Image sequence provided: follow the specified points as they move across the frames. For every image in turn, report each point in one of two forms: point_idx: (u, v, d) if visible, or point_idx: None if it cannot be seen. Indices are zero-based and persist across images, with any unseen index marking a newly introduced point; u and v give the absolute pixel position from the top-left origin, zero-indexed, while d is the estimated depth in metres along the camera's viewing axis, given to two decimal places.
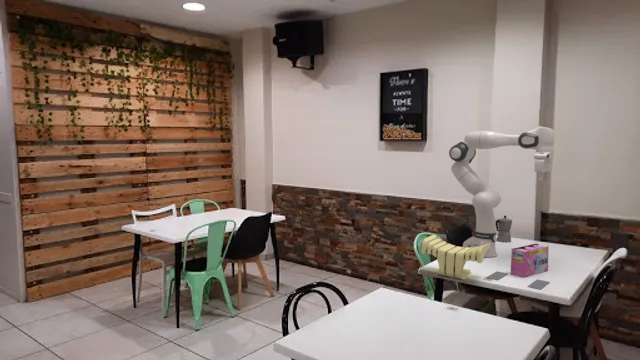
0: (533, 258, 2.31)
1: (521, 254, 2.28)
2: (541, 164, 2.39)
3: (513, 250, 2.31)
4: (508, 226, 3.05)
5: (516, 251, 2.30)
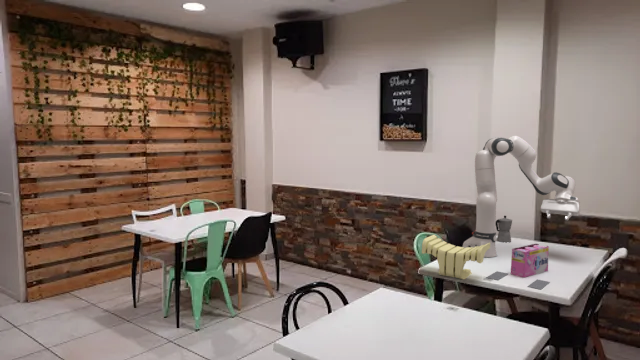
0: (533, 258, 2.30)
1: (521, 254, 2.28)
2: (579, 209, 2.55)
3: (513, 250, 2.31)
4: (508, 226, 3.05)
5: (516, 251, 2.30)
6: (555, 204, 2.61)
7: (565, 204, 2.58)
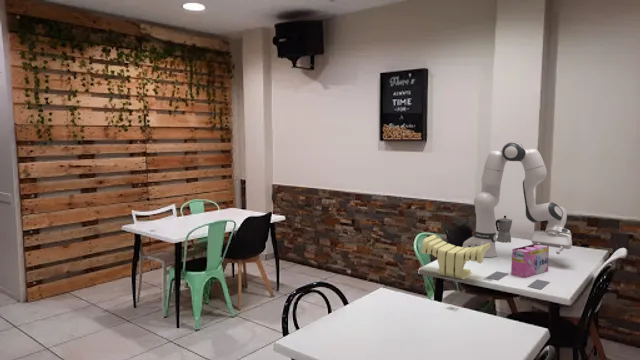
0: (534, 258, 2.30)
1: (522, 254, 2.27)
2: (571, 242, 2.45)
3: (514, 250, 2.31)
4: (508, 226, 3.05)
5: (517, 251, 2.29)
6: (546, 237, 2.51)
7: (556, 236, 2.48)
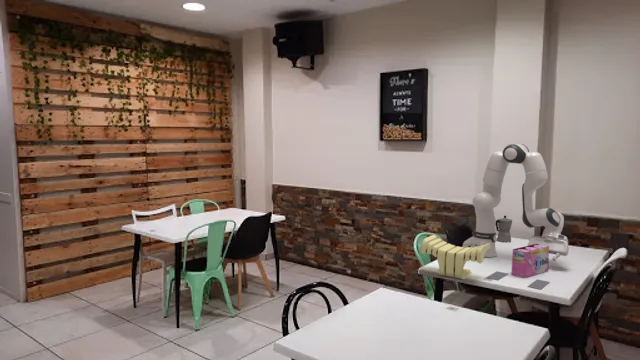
0: (534, 258, 2.30)
1: (522, 255, 2.27)
2: (568, 249, 2.41)
3: (514, 250, 2.30)
4: (508, 226, 3.05)
5: (517, 251, 2.29)
6: (542, 243, 2.47)
7: (553, 243, 2.44)
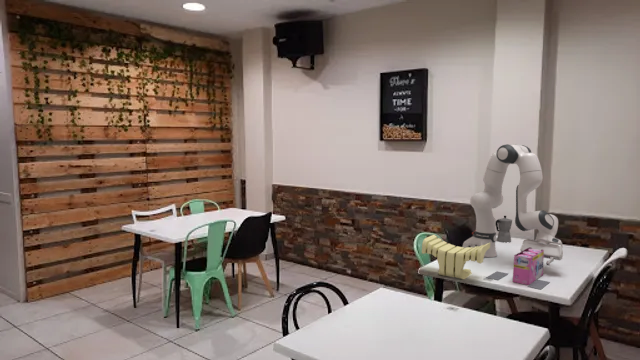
0: (535, 263, 2.20)
1: (525, 261, 2.15)
2: (562, 253, 2.32)
3: (516, 257, 2.18)
4: (508, 226, 3.05)
5: (520, 257, 2.17)
6: (536, 246, 2.38)
7: (547, 247, 2.35)
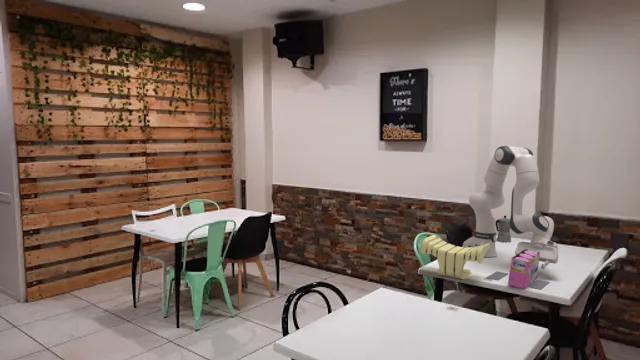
0: (531, 267, 2.13)
1: (523, 264, 2.08)
2: None
3: (513, 259, 2.11)
4: (508, 226, 3.05)
5: (517, 261, 2.10)
6: (530, 249, 2.32)
7: (542, 249, 2.29)
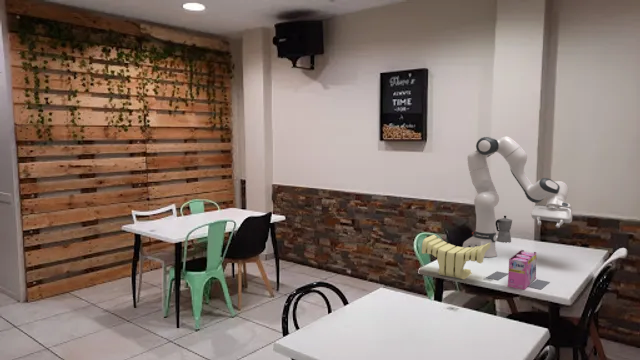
0: (530, 267, 2.14)
1: (521, 264, 2.09)
2: None
3: (511, 260, 2.11)
4: (508, 226, 3.05)
5: (515, 261, 2.10)
6: (546, 211, 2.48)
7: (557, 211, 2.45)
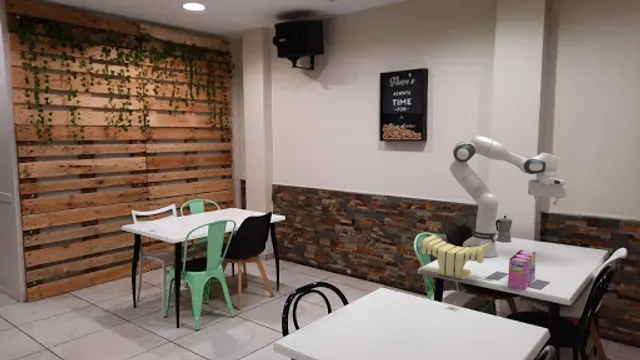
0: (529, 267, 2.14)
1: (521, 265, 2.08)
2: (566, 189, 2.52)
3: (511, 260, 2.11)
4: (508, 226, 3.05)
5: (515, 261, 2.10)
6: (541, 189, 2.58)
7: (551, 188, 2.55)
